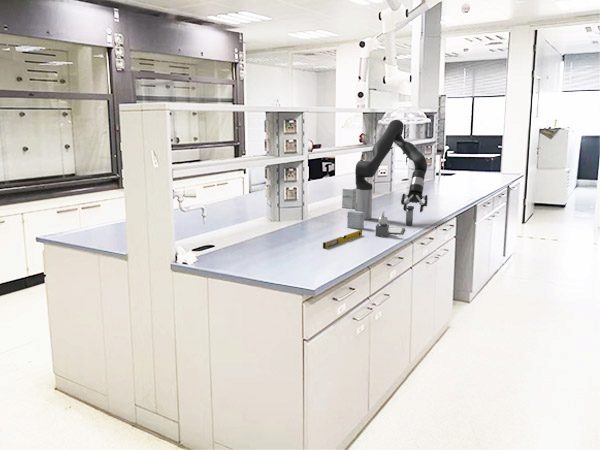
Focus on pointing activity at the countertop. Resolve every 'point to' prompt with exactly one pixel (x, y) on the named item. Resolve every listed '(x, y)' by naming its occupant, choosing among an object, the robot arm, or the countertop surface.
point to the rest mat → (396, 230)
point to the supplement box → (348, 197)
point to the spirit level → (342, 239)
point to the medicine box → (355, 219)
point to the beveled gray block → (382, 226)
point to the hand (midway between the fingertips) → (412, 211)
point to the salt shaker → (409, 215)
